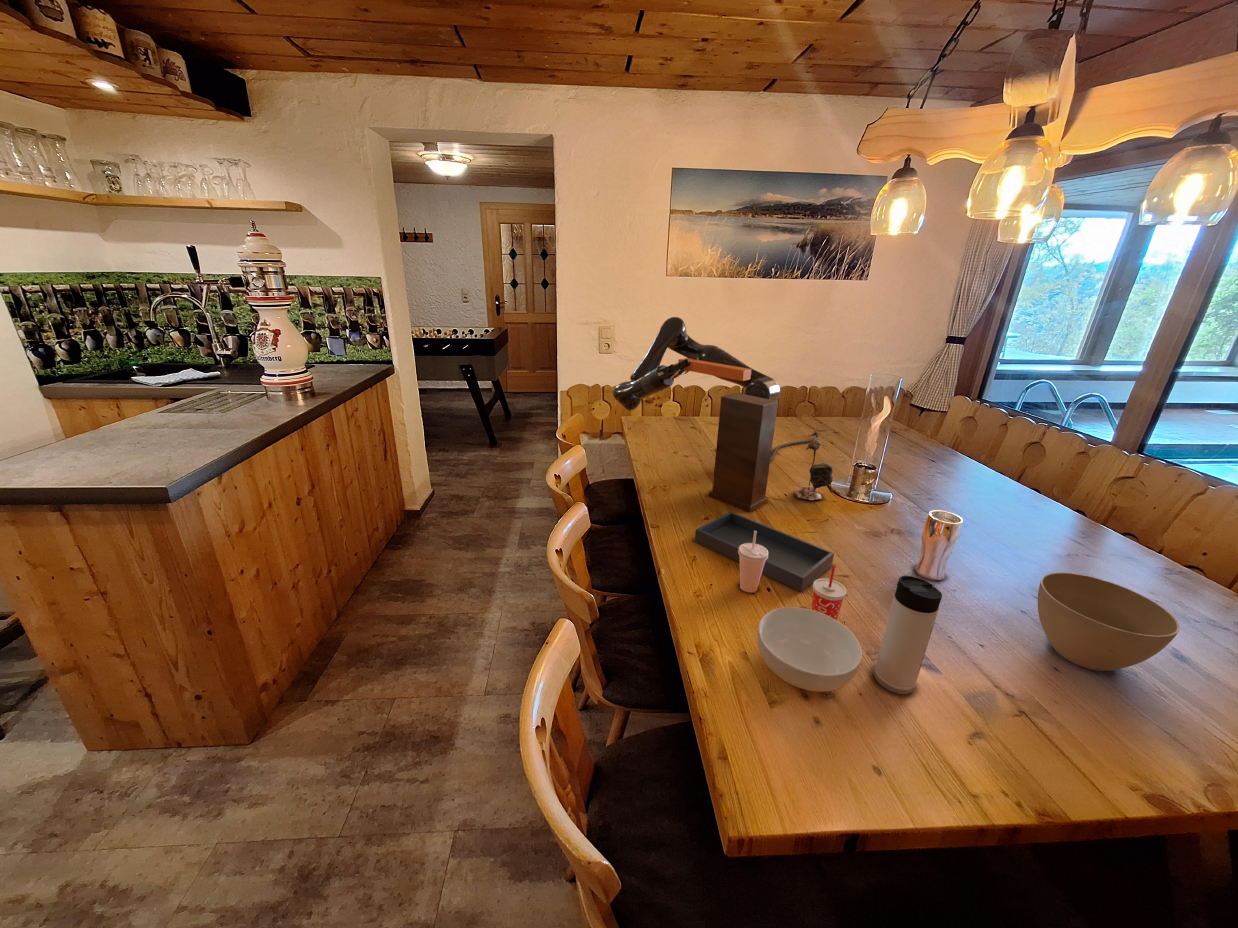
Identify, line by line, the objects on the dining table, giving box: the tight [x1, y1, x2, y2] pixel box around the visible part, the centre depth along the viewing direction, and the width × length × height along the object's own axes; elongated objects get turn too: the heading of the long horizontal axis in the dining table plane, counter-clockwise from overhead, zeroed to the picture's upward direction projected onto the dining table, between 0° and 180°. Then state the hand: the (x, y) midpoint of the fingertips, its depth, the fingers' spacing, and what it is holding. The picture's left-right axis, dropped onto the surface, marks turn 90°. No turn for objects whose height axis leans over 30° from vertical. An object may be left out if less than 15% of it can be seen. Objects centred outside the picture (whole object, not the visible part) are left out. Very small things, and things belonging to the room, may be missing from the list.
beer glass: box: [914, 509, 964, 581], centre depth 113 cm, size 7×7×15 cm
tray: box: [694, 510, 835, 593], centre depth 122 cm, size 16×30×4 cm, turn 44°
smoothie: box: [738, 531, 768, 593], centre depth 107 cm, size 6×6×14 cm
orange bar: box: [677, 357, 751, 381], centre depth 148 cm, size 4×24×3 cm, turn 44°
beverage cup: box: [810, 564, 848, 621], centre depth 95 cm, size 6×6×14 cm
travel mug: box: [873, 575, 943, 695], centre depth 81 cm, size 6×7×20 cm
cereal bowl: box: [756, 606, 863, 693], centre depth 86 cm, size 17×17×7 cm
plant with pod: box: [794, 437, 834, 501], centre depth 151 cm, size 8×11×20 cm
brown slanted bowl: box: [1037, 572, 1181, 672], centre depth 89 cm, size 18×18×12 cm
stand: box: [708, 392, 779, 513], centre depth 147 cm, size 10×15×32 cm, turn 44°
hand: (693, 361), depth 152 cm, fingers closed on orange bar, 4 cm apart
